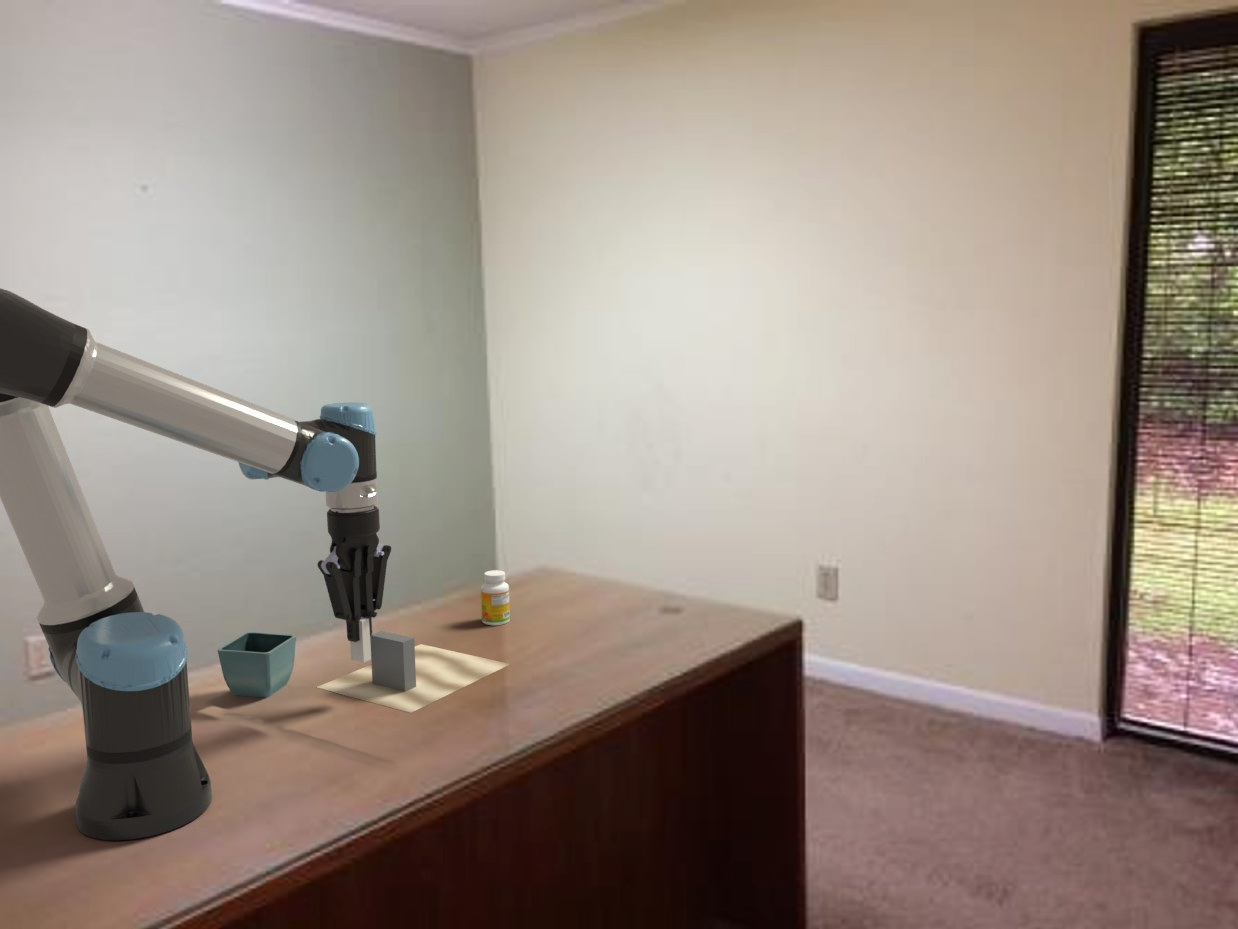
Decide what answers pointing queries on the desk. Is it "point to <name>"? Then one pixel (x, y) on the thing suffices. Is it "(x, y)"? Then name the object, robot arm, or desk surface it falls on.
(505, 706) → the desk surface
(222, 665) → the flower pot
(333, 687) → the board
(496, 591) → the supplement bottle
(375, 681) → the tile
